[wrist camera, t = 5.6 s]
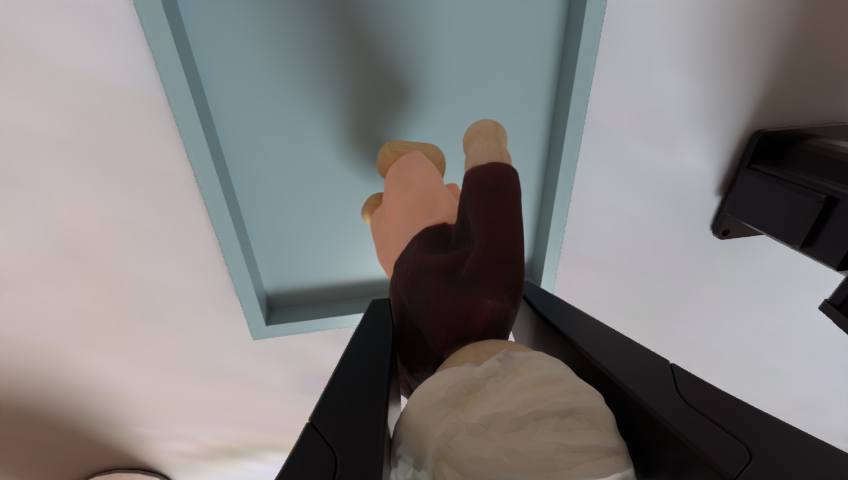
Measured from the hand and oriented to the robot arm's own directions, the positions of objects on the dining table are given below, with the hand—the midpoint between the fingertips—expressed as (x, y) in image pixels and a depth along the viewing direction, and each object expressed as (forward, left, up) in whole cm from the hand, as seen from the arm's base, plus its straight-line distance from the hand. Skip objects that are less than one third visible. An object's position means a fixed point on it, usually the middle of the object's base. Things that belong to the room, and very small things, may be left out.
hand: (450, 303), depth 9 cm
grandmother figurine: (0, 0, -8) cm, 8 cm away
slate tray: (0, 0, -10) cm, 10 cm away
